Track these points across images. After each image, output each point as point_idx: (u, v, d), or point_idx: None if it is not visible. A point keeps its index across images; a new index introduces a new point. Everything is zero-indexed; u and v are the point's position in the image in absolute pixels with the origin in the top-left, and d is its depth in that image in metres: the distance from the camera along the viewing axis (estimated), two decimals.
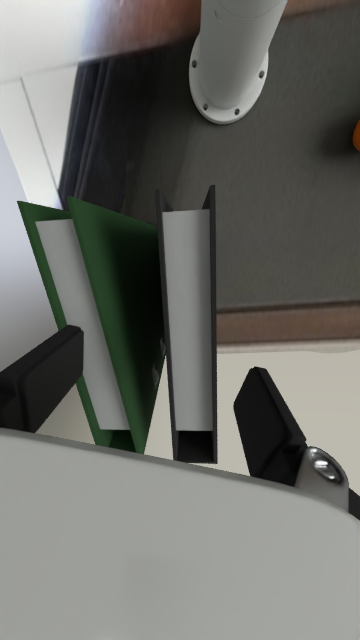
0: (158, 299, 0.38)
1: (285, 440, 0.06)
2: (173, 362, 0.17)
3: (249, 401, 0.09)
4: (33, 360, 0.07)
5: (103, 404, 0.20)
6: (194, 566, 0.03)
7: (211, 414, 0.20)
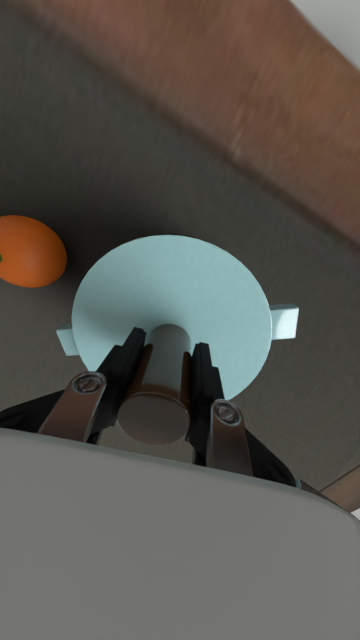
0: None
1: (200, 394, 0.08)
2: None
3: None
4: (125, 357, 0.08)
5: None
6: (194, 566, 0.03)
7: None
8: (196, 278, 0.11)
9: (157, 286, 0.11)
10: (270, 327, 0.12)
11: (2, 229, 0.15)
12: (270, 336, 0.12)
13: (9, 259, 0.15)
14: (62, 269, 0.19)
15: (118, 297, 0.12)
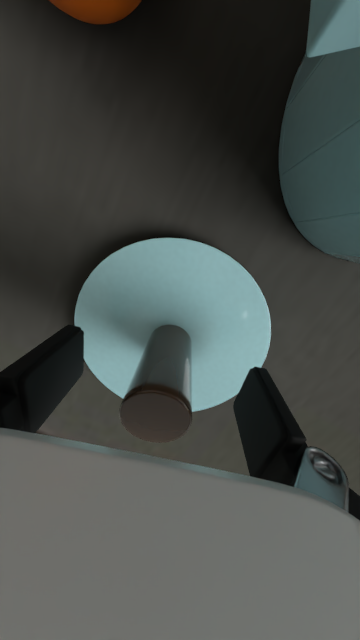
0: None
1: (285, 440, 0.06)
2: None
3: (249, 401, 0.09)
4: (33, 360, 0.07)
5: None
6: (194, 566, 0.03)
7: None
8: (197, 280, 0.11)
9: (158, 287, 0.12)
10: (269, 328, 0.12)
11: None
12: (269, 336, 0.12)
13: None
14: None
15: (120, 298, 0.12)
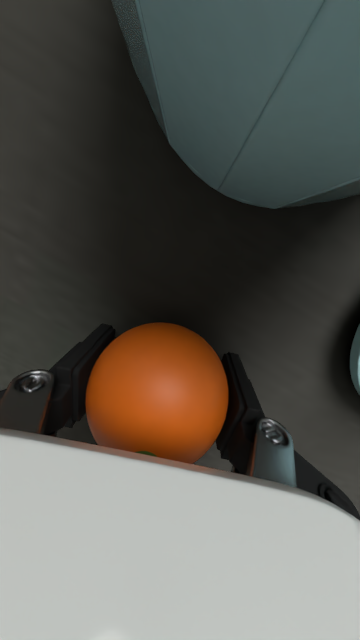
0: None
1: (243, 412, 0.07)
2: None
3: None
4: (81, 355, 0.08)
5: None
6: (194, 566, 0.03)
7: None
8: None
9: None
10: None
11: (92, 423, 0.07)
12: None
13: (151, 439, 0.06)
14: (193, 335, 0.08)
15: None
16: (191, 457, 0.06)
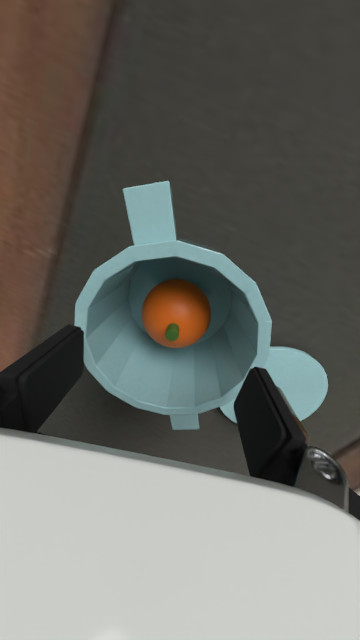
0: None
1: (285, 440, 0.06)
2: None
3: (249, 401, 0.09)
4: (33, 360, 0.07)
5: None
6: (194, 566, 0.03)
7: None
8: None
9: None
10: None
11: (149, 317, 0.15)
12: (275, 350, 0.21)
13: (176, 317, 0.14)
14: (193, 283, 0.17)
15: None
16: (192, 331, 0.15)
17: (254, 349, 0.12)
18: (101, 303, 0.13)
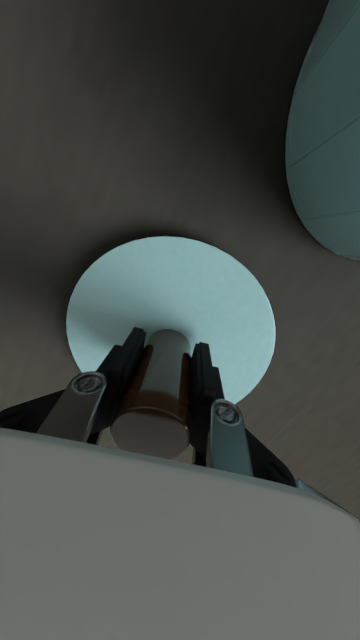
0: None
1: (200, 394, 0.08)
2: None
3: None
4: (125, 357, 0.08)
5: None
6: (194, 566, 0.03)
7: None
8: (196, 282, 0.10)
9: (155, 289, 0.11)
10: (273, 332, 0.11)
11: None
12: (273, 342, 0.12)
13: None
14: None
15: (114, 301, 0.11)
16: None
17: None
18: None
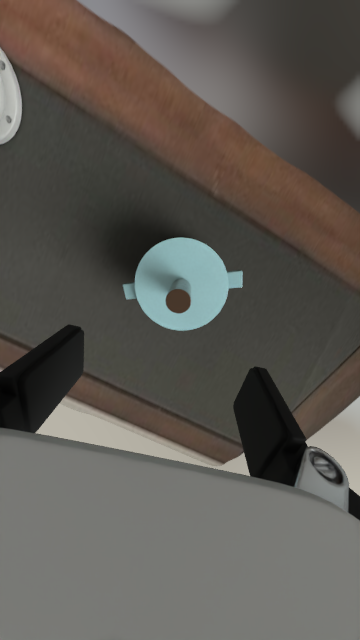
0: None
1: (285, 440, 0.06)
2: None
3: (249, 401, 0.09)
4: (33, 360, 0.07)
5: None
6: (194, 566, 0.03)
7: None
8: (193, 256, 0.25)
9: (176, 260, 0.25)
10: (227, 279, 0.26)
11: None
12: (227, 284, 0.26)
13: None
14: None
15: (158, 265, 0.26)
16: None
17: None
18: None
